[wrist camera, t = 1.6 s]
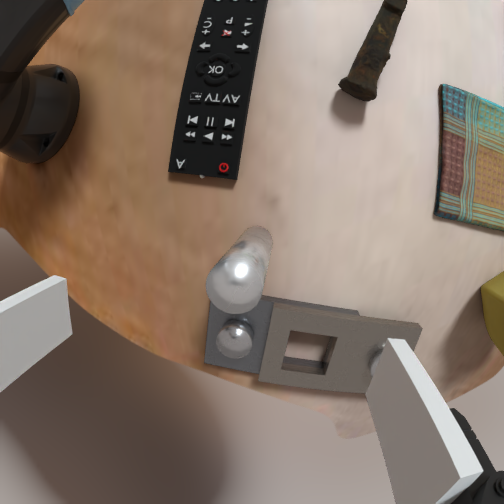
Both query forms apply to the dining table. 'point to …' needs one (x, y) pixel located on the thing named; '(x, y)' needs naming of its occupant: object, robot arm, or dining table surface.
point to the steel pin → (241, 272)
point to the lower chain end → (251, 335)
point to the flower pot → (494, 309)
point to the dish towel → (470, 159)
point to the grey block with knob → (342, 349)
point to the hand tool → (374, 52)
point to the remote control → (217, 89)
